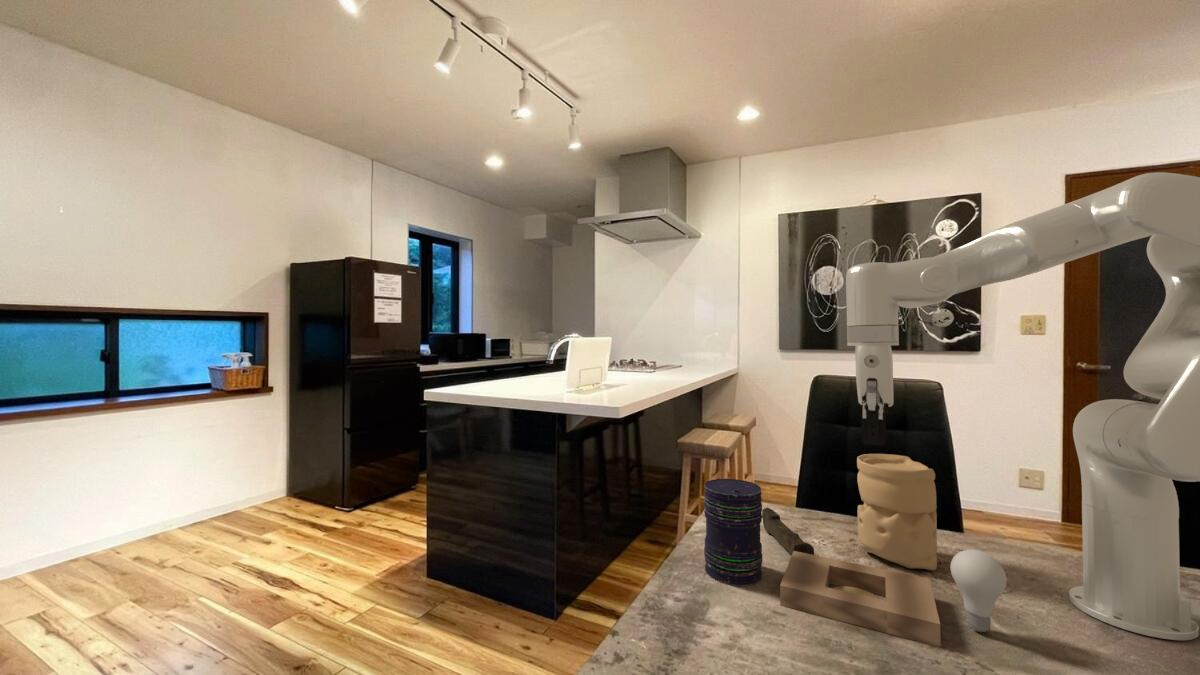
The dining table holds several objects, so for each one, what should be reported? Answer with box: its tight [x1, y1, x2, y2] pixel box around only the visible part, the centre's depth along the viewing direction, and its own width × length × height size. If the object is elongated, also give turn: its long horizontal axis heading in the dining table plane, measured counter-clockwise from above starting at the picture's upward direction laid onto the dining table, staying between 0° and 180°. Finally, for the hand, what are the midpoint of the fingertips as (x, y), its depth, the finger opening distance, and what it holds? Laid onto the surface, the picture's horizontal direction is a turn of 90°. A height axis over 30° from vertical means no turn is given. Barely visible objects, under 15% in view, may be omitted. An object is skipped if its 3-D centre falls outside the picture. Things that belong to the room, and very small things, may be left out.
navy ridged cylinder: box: [703, 478, 763, 587], centre depth 83 cm, size 10×10×15 cm
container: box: [856, 453, 938, 572], centre depth 88 cm, size 13×13×18 cm
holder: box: [779, 551, 942, 648], centre depth 73 cm, size 20×14×3 cm
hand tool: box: [761, 507, 815, 556], centre depth 95 cm, size 19×4×5 cm, turn 0°
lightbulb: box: [950, 549, 1008, 633], centre depth 66 cm, size 6×6×11 cm
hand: (874, 439), depth 79 cm, fingers open, 9 cm apart
